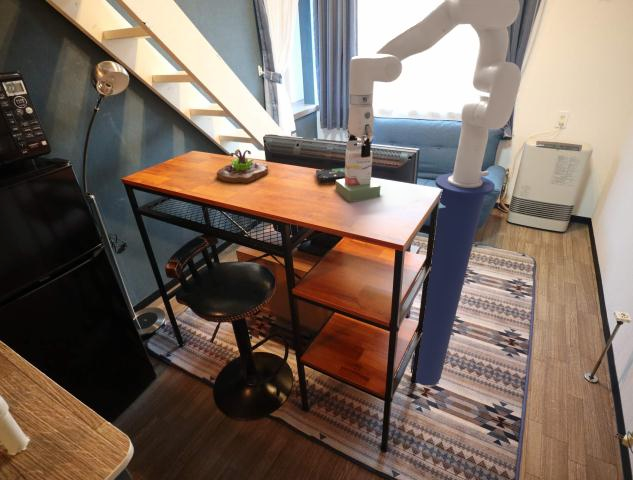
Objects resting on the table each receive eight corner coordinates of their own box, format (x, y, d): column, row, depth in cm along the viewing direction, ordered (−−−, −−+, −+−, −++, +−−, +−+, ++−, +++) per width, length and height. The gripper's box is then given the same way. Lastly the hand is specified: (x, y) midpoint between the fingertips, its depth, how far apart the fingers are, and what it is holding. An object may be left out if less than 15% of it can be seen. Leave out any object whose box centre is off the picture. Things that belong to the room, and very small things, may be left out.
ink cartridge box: (347, 186, 121) (349, 144, 114) (344, 181, 125) (345, 140, 118) (371, 184, 122) (373, 142, 115) (367, 179, 127) (369, 139, 119)
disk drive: (320, 185, 134) (356, 181, 136) (319, 178, 133) (357, 174, 134) (315, 176, 143) (350, 172, 145) (315, 169, 141) (350, 166, 143)
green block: (363, 185, 132) (364, 175, 130) (379, 196, 123) (380, 185, 121) (335, 190, 129) (335, 179, 127) (349, 202, 119) (349, 191, 117)
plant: (209, 180, 141) (204, 153, 136) (235, 165, 157) (231, 140, 151) (251, 185, 135) (248, 157, 129) (274, 169, 151) (271, 144, 145)
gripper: (385, 102, 104) (381, 158, 112) (358, 95, 118) (357, 145, 126) (363, 105, 102) (360, 161, 110) (338, 97, 116) (338, 148, 124)
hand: (358, 153), depth 118 cm, fingers open, 9 cm apart
